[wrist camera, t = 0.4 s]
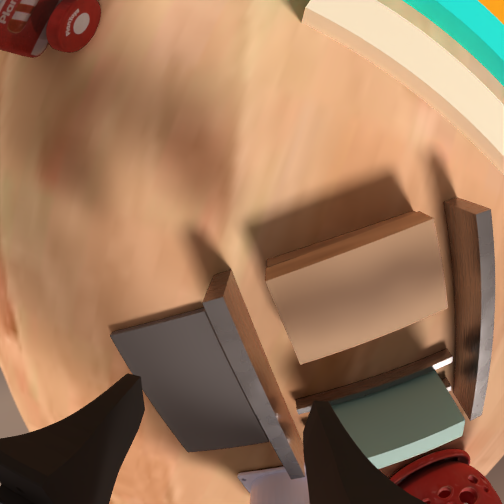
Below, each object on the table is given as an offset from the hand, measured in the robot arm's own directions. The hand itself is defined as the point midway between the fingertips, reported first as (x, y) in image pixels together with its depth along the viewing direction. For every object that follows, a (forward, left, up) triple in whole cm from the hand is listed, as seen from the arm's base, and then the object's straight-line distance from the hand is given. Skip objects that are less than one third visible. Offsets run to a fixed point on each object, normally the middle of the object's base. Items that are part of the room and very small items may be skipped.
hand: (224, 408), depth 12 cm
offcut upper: (0, -8, -9) cm, 11 cm away
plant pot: (-29, -13, -10) cm, 34 cm away
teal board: (-11, -8, -10) cm, 17 cm away
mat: (-6, +6, -10) cm, 13 cm away
